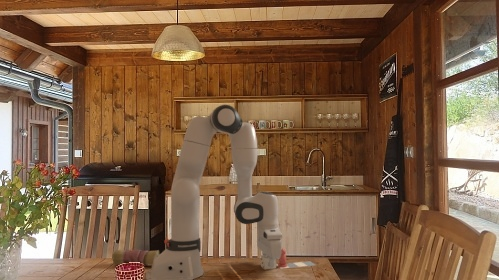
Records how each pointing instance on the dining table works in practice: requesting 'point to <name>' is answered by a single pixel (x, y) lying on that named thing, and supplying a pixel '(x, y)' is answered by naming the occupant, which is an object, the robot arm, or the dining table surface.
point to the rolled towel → (134, 256)
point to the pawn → (282, 259)
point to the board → (298, 264)
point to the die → (266, 262)
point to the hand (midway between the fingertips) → (268, 264)
